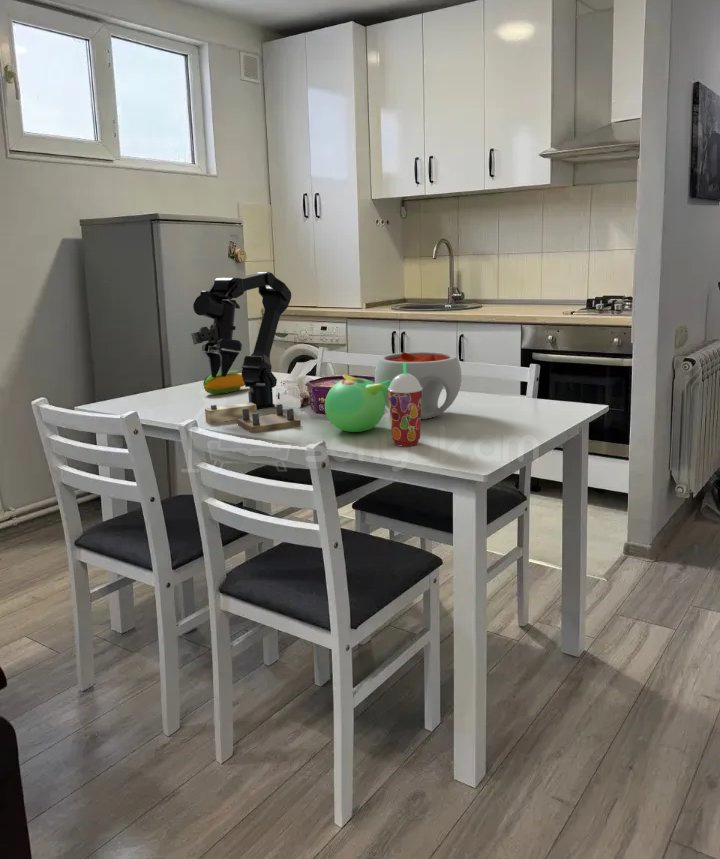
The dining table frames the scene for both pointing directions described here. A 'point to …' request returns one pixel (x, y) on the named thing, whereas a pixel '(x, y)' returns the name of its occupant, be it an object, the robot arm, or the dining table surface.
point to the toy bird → (356, 404)
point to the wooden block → (228, 412)
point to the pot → (424, 376)
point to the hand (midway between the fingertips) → (218, 376)
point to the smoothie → (405, 408)
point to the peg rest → (268, 420)
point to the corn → (223, 383)
